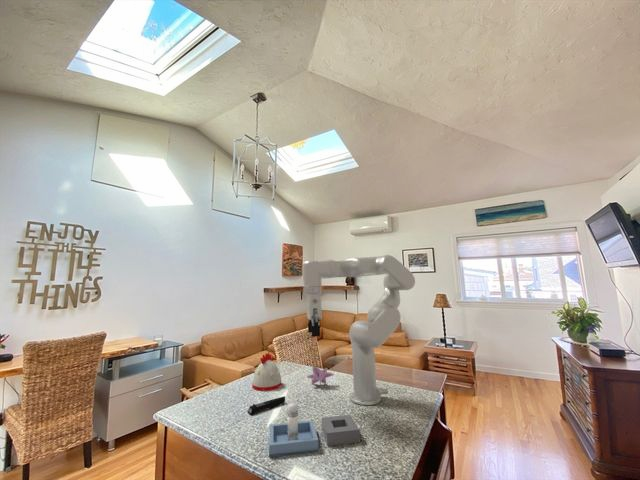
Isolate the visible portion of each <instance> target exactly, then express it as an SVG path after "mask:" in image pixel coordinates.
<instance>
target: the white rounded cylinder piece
mask: <svg viewBox="0 0 640 480" xmlns="http://www.w3.org/2000/svg"><path fill="white" fill-rule="evenodd" d="M298 406H299V404H298V403H297V402H288V403H287V407H286V408H287V411H286V412H287V423H288V441H292V440H298V422H299V407H298Z"/></svg>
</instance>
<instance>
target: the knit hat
mask: <svg viewBox="0 0 640 480" xmlns="http://www.w3.org/2000/svg"><path fill="white" fill-rule="evenodd" d="M259 359H260V361H261V363H260V364H258V366H257V367H256V369H254V371H253V372H254V375H253V377H252V381H251V382H252V384H251V386H252V389H253V390H254V391H258V392H259V391H260V392H270V391H274V390H277V389H279V388H281V386H282V376H281V371H280V370H279V367H278V365H277V364H276V363H275V361H273V360H274V356H272V354H270V352H267V353H265V354H262V357H260V358H259Z"/></svg>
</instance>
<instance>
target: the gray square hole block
mask: <svg viewBox="0 0 640 480" xmlns="http://www.w3.org/2000/svg"><path fill="white" fill-rule="evenodd" d="M320 418H321V419H320V420H321V421H320V422H321V431H322V434H323V438H324V439H325V443H326V444H325V445H326V446H327V447H332V446H339V445H349V444H356V443H360V428H359V427H358V425H357V423H356V422H355V420H354V418H353V417H352V416H351V414H345V415H335V416H333V415H332V416H326V417H320Z"/></svg>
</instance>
